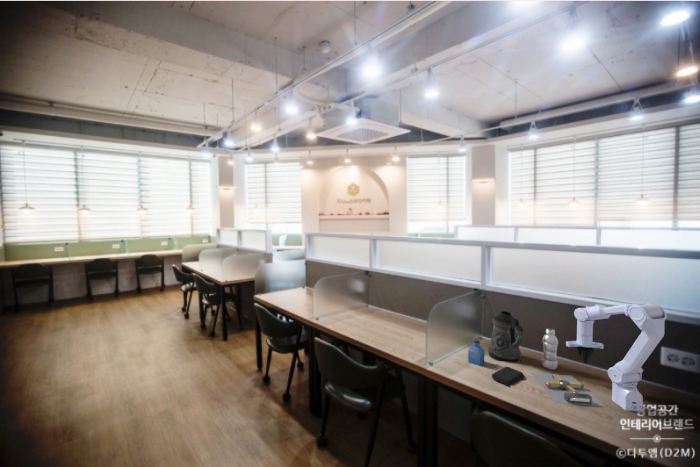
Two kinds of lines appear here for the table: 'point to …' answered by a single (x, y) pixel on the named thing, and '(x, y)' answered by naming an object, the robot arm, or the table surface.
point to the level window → (578, 398)
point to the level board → (559, 393)
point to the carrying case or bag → (508, 376)
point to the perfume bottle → (476, 353)
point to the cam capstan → (564, 384)
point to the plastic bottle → (550, 349)
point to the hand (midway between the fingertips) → (584, 362)
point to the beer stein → (506, 338)
